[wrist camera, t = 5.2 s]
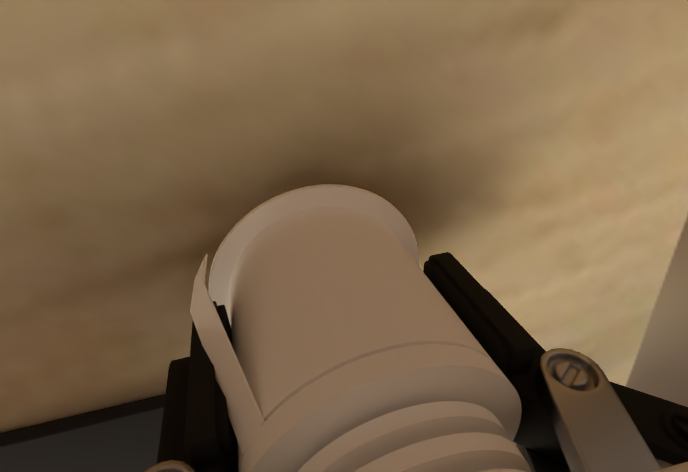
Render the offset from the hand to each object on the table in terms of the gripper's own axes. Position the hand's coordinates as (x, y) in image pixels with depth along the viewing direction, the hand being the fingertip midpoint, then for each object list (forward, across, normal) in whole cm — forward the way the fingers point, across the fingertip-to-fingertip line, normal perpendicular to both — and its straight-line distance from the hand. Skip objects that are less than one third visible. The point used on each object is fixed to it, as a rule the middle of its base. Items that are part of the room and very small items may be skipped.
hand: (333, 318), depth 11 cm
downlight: (+2, 0, 0) cm, 2 cm away
